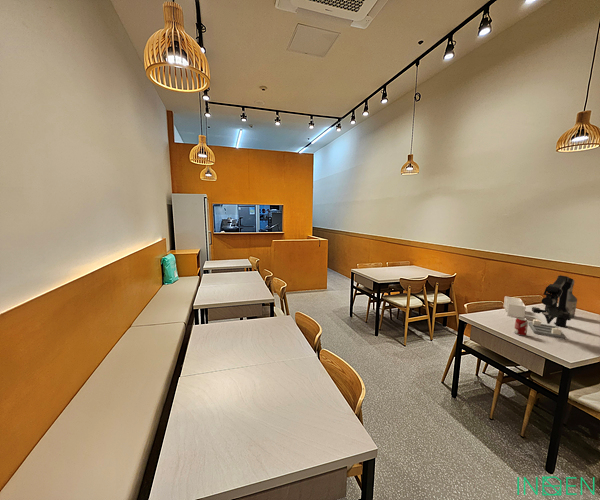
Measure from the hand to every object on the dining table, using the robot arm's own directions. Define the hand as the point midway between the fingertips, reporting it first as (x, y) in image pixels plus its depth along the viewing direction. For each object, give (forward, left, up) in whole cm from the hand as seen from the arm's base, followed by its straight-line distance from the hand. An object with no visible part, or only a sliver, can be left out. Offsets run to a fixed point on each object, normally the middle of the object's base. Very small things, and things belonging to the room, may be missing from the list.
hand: (548, 323), depth 177 cm
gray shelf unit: (-6, +1, -8) cm, 10 cm away
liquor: (-57, +24, -9) cm, 63 cm away
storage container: (-40, -13, -9) cm, 43 cm away
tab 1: (-12, -3, -7) cm, 14 cm away
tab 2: (0, +5, -7) cm, 8 cm away
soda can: (+11, -16, -9) cm, 21 cm away
